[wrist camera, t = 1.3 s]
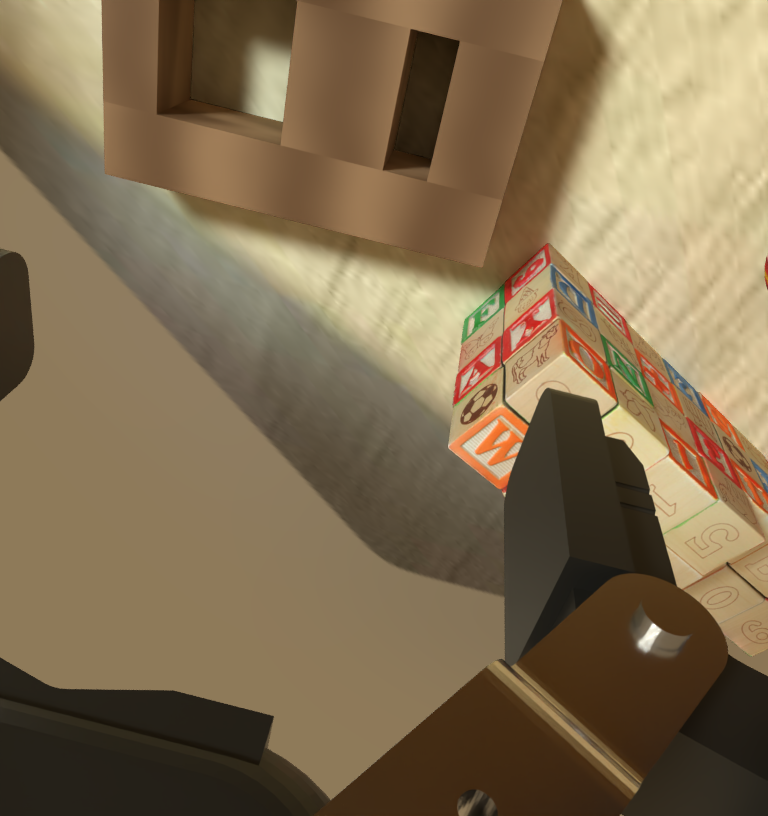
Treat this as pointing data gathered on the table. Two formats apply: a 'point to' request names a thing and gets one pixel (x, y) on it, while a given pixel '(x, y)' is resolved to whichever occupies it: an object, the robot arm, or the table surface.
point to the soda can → (766, 271)
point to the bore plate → (335, 117)
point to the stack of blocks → (621, 429)
